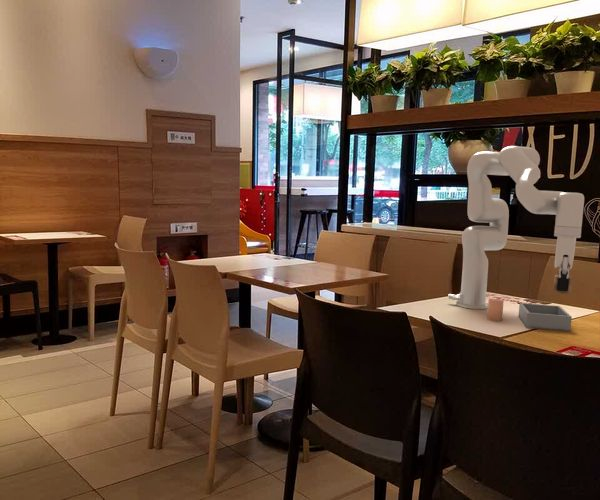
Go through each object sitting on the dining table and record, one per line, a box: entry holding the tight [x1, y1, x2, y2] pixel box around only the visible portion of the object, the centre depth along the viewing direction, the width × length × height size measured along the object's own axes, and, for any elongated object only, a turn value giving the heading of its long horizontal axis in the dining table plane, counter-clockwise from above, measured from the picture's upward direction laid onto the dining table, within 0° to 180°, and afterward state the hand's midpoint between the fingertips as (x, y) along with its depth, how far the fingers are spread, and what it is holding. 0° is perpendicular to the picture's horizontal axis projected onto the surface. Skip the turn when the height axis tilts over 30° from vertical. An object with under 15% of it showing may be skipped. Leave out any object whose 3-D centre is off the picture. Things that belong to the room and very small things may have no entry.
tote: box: [518, 302, 572, 333], centre depth 194 cm, size 14×18×5 cm
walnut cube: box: [552, 274, 573, 295], centre depth 177 cm, size 5×5×5 cm
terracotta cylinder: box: [486, 298, 505, 322], centre depth 198 cm, size 5×5×7 cm
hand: (562, 288), depth 178 cm, fingers closed on walnut cube, 5 cm apart
